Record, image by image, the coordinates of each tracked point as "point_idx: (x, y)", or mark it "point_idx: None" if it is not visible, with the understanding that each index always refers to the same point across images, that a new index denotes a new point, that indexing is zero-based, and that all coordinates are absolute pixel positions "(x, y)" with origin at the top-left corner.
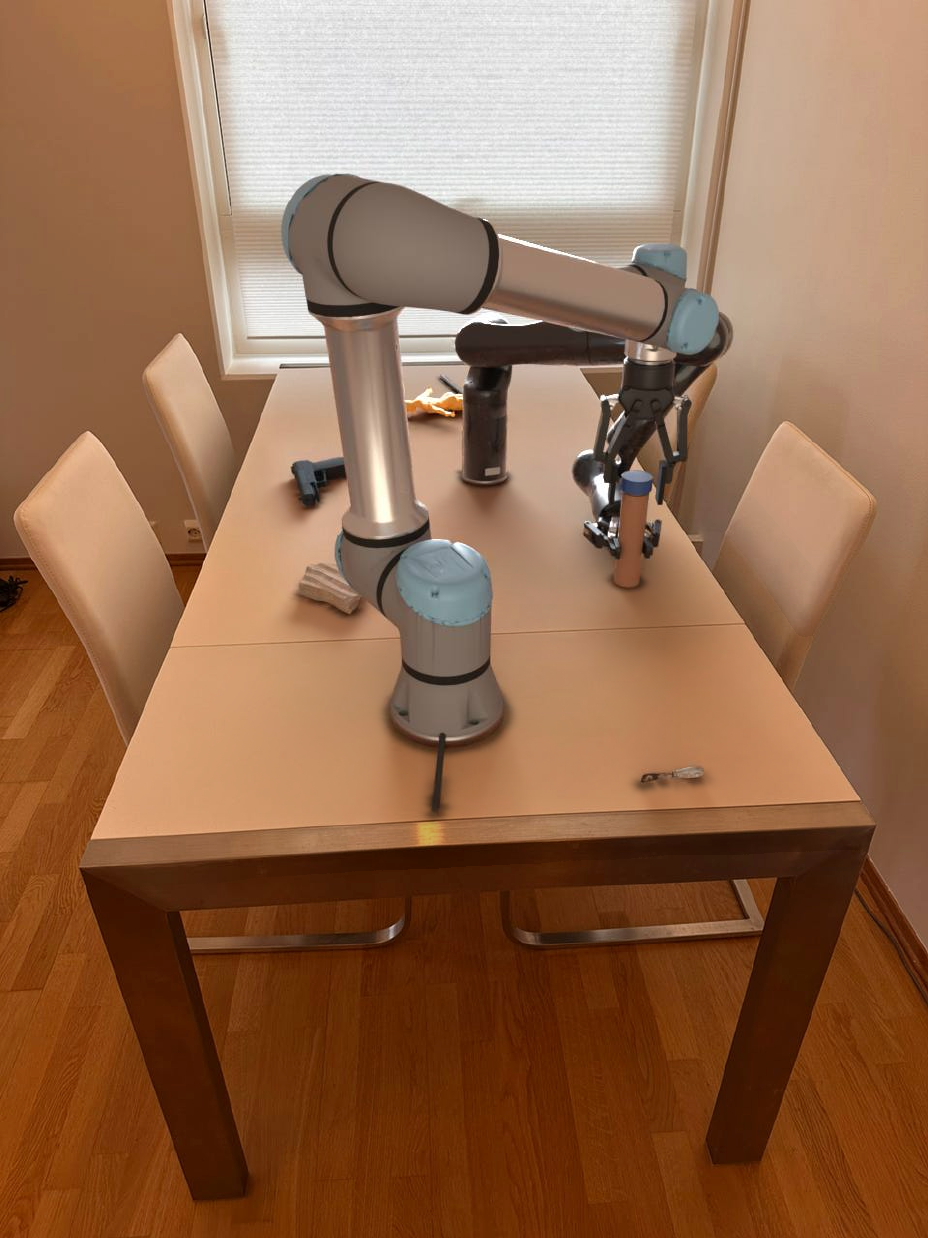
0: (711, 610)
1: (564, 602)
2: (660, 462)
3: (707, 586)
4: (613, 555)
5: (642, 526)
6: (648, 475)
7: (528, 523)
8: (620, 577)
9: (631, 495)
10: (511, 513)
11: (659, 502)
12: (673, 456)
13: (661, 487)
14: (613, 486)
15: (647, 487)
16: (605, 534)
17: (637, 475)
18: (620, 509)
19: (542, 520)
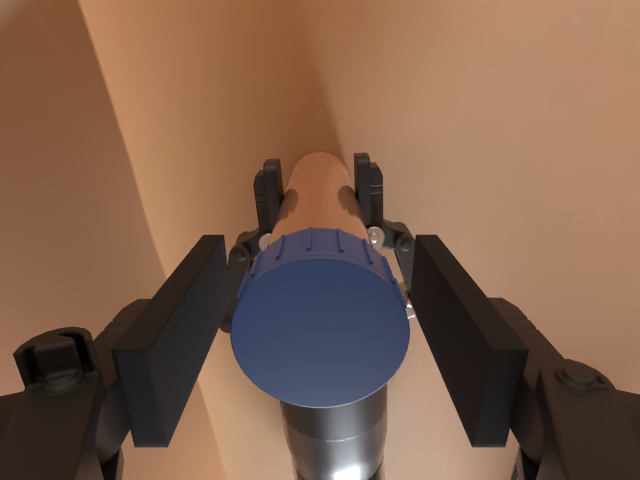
0: (128, 42)
1: (482, 75)
2: (162, 414)
3: (135, 161)
4: (372, 163)
5: (289, 199)
6: (253, 348)
7: None
8: (339, 162)
9: None
10: (510, 442)
11: (214, 238)
12: (10, 420)
13: (190, 270)
14: (454, 273)
15: (268, 256)
16: None
17: (318, 346)
18: None
19: (455, 419)
